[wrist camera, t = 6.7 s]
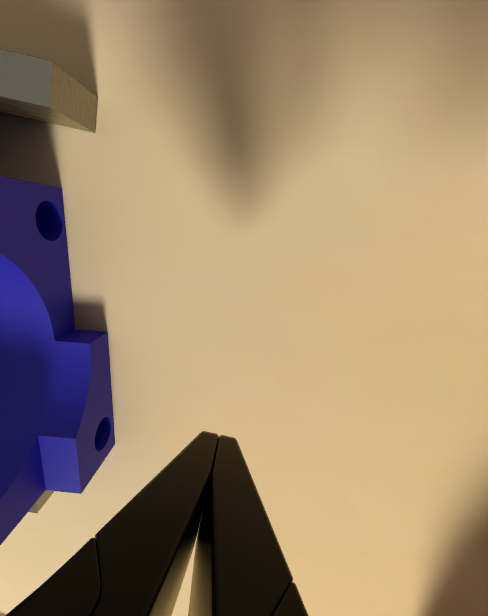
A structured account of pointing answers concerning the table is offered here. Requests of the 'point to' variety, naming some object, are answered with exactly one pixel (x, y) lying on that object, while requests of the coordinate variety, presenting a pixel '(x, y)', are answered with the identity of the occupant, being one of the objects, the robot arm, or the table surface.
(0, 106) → the stop bracket
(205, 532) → the robot arm
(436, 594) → the table surface
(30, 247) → the cable clip
